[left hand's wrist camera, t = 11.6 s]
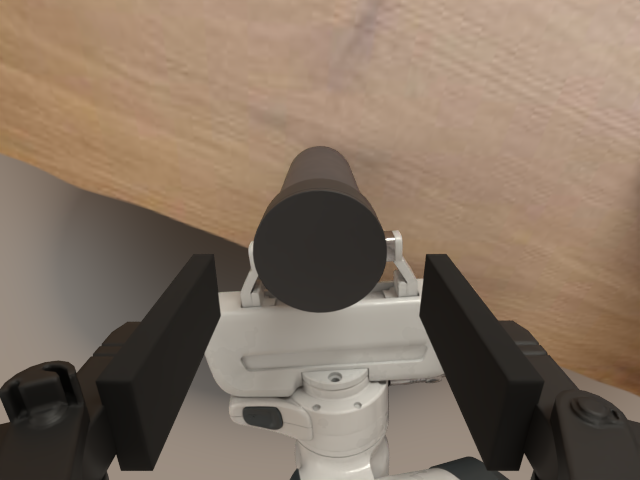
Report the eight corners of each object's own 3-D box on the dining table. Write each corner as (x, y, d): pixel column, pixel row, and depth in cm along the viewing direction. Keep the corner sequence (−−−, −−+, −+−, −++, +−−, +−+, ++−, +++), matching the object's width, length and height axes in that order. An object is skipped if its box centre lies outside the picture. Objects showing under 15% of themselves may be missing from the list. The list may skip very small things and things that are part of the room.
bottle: (344, 139, 31) (366, 183, 16) (357, 201, 33) (387, 290, 18) (281, 154, 31) (246, 210, 17) (297, 214, 33) (279, 311, 19)
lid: (367, 165, 18) (375, 175, 16) (388, 276, 20) (396, 299, 18) (245, 193, 18) (235, 207, 16) (278, 298, 20) (273, 323, 18)
